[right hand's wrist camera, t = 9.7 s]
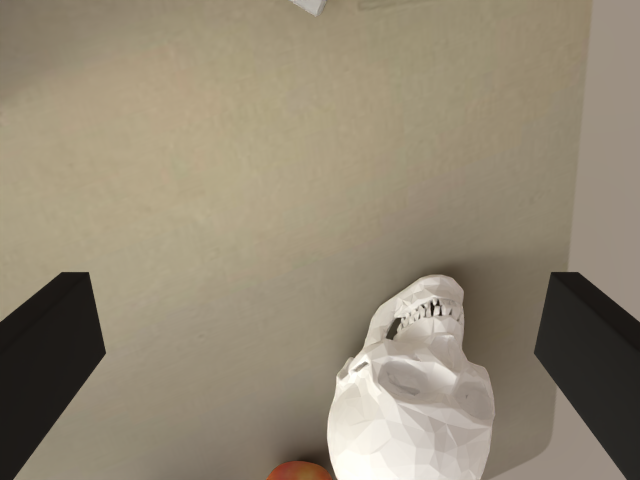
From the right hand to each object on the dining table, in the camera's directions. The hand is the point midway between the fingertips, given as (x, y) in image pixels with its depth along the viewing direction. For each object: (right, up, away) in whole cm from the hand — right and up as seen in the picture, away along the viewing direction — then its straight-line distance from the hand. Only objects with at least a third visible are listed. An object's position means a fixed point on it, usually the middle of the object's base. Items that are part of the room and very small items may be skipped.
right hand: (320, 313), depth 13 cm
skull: (+9, -10, +35) cm, 38 cm away
